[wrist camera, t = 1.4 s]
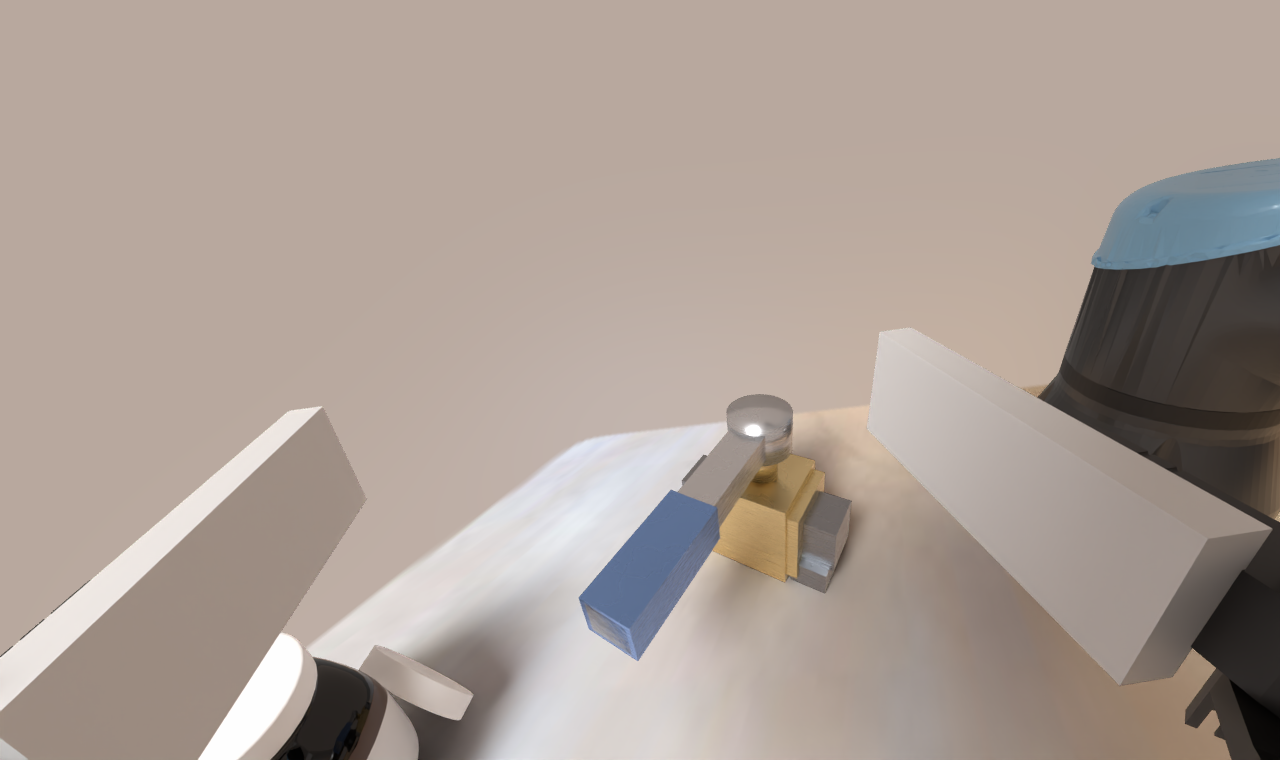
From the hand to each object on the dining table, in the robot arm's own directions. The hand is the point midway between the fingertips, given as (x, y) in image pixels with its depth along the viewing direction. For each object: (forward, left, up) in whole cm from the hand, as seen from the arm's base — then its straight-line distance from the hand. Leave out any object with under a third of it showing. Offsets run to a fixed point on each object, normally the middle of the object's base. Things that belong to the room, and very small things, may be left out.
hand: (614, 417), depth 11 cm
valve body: (-10, -16, -25) cm, 31 cm away
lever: (-4, -11, -15) cm, 19 cm away
